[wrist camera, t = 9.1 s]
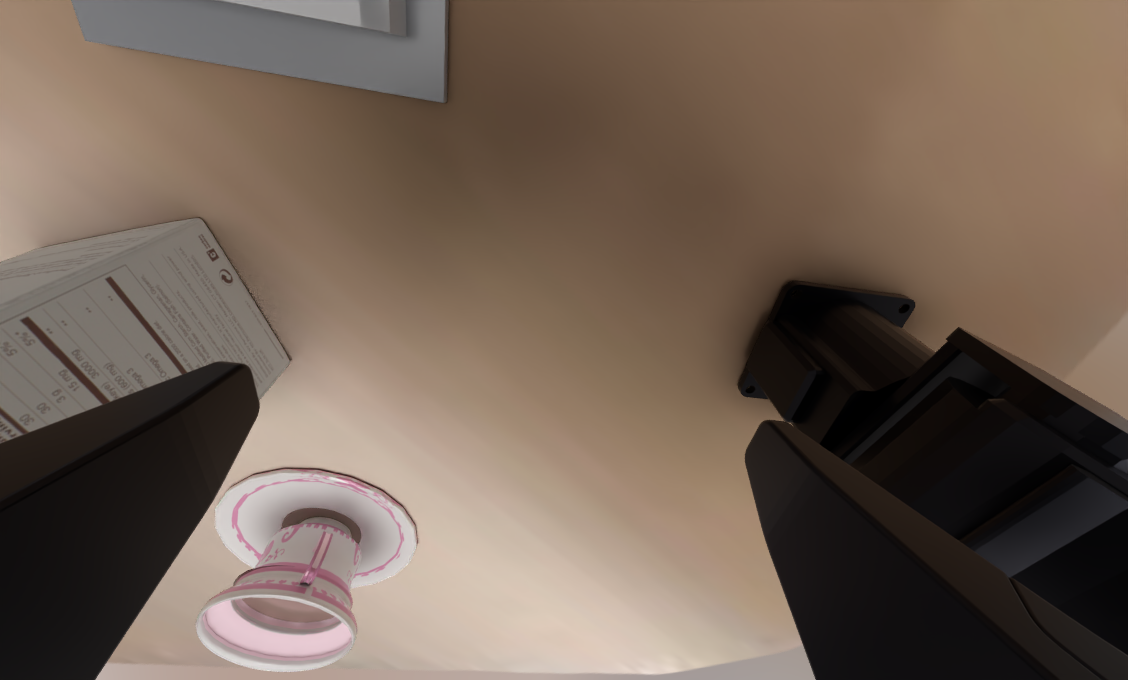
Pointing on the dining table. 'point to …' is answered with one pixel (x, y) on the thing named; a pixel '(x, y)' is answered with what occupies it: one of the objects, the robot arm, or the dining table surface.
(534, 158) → the dining table surface
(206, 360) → the supplement box
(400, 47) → the grey bracket base
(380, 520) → the teacup
